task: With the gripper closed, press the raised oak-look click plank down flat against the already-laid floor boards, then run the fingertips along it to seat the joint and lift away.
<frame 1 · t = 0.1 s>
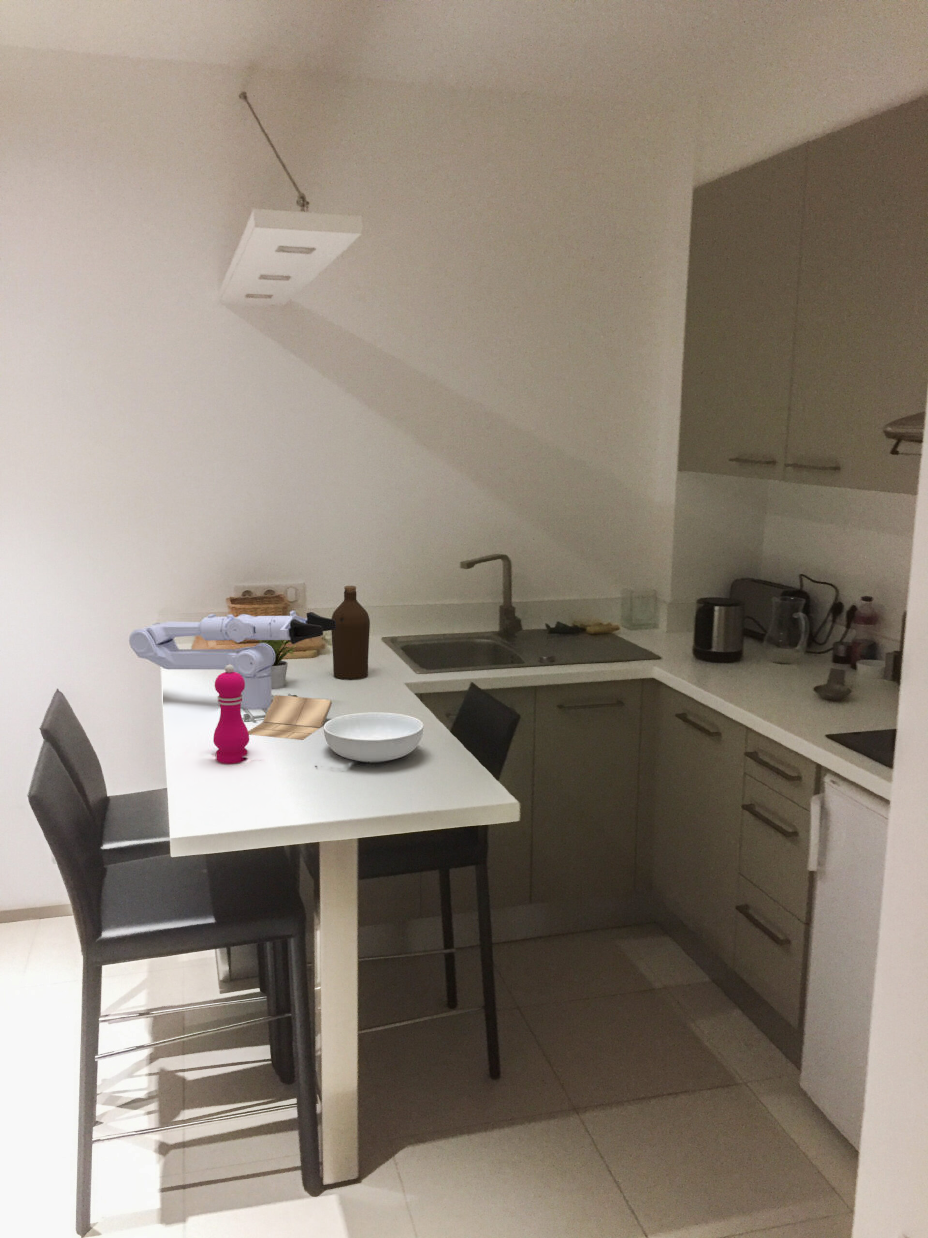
hand: (329, 627, 236), 22 cm above the counter, tool horizontal, fingers open, 7 cm apart
serving bowl: (373, 757, 213), on the counter
pepper mill: (232, 760, 209), on the counter
house plant: (275, 688, 267), on the counter
click plank: (297, 712, 232), point 3 cm above the counter, hinge at 35.0°
olive oil: (350, 676, 280), on the counter
laid floor boards: (282, 736, 225), on the counter
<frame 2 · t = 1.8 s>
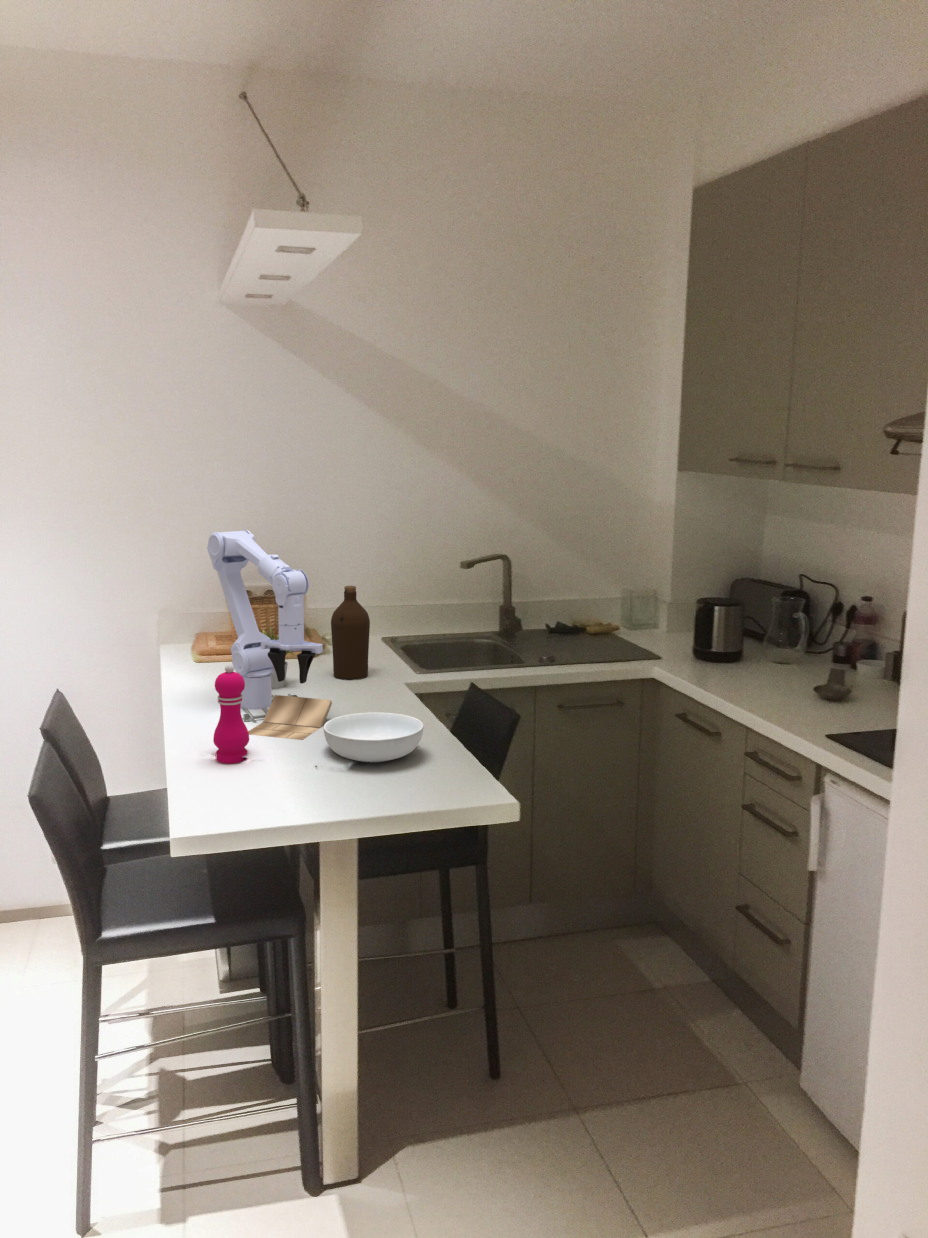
hand: (292, 681, 233), 10 cm above the counter, tool pointing down, fingers open, 5 cm apart
nothing on the counter moved.
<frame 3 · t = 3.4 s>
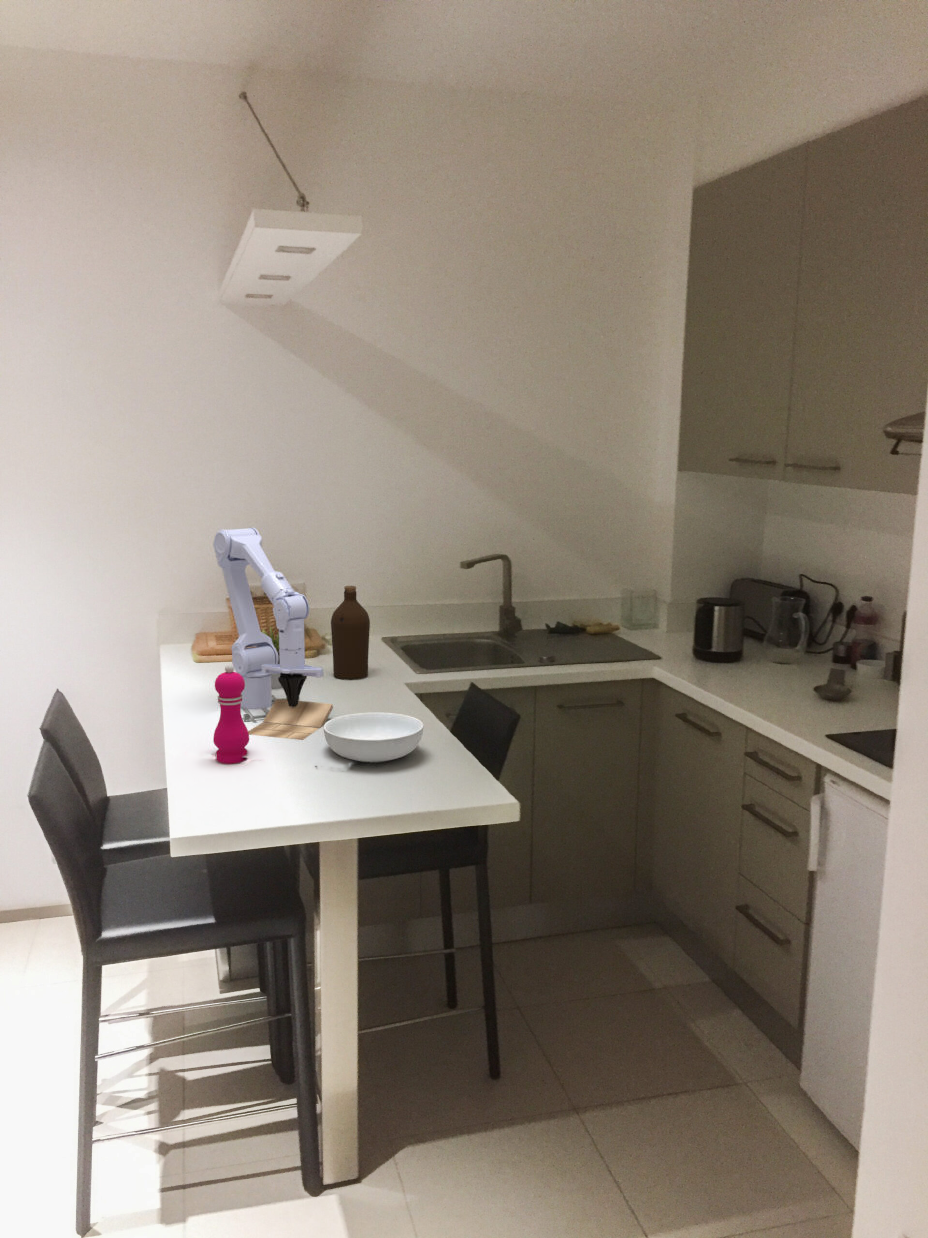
hand: (293, 705, 234), 4 cm above the counter, tool pointing down, fingers closed, pressing on click plank
click plank: (298, 714, 233), point 3 cm above the counter, hinge at 26.1°, touching gripper
everything else where it was.
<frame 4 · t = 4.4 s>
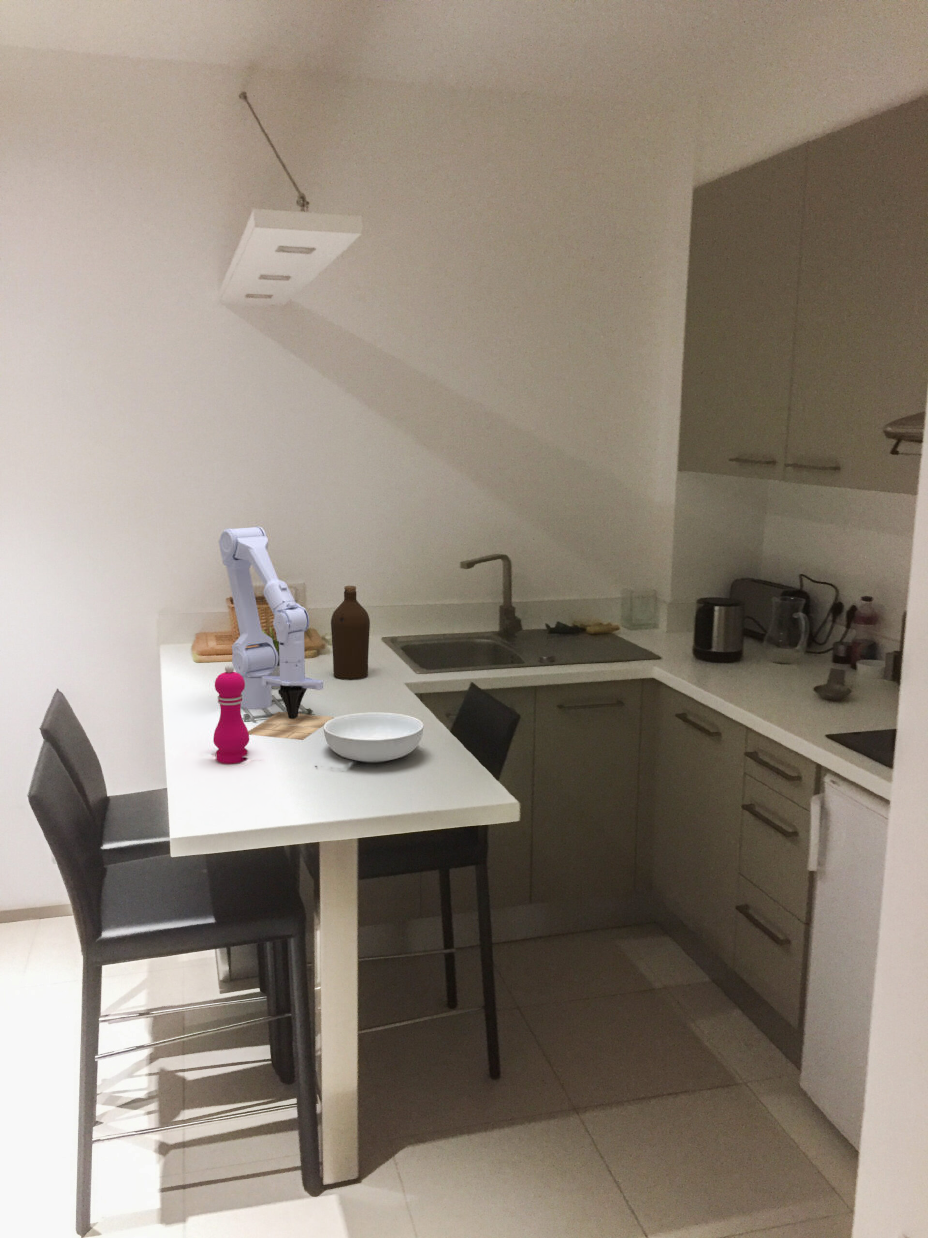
hand: (293, 717, 235), 1 cm above the counter, tool pointing down, fingers closed, pressing on click plank
click plank: (298, 722, 233), point 1 cm above the counter, hinge at 2.1°, touching gripper
everything else where it was.
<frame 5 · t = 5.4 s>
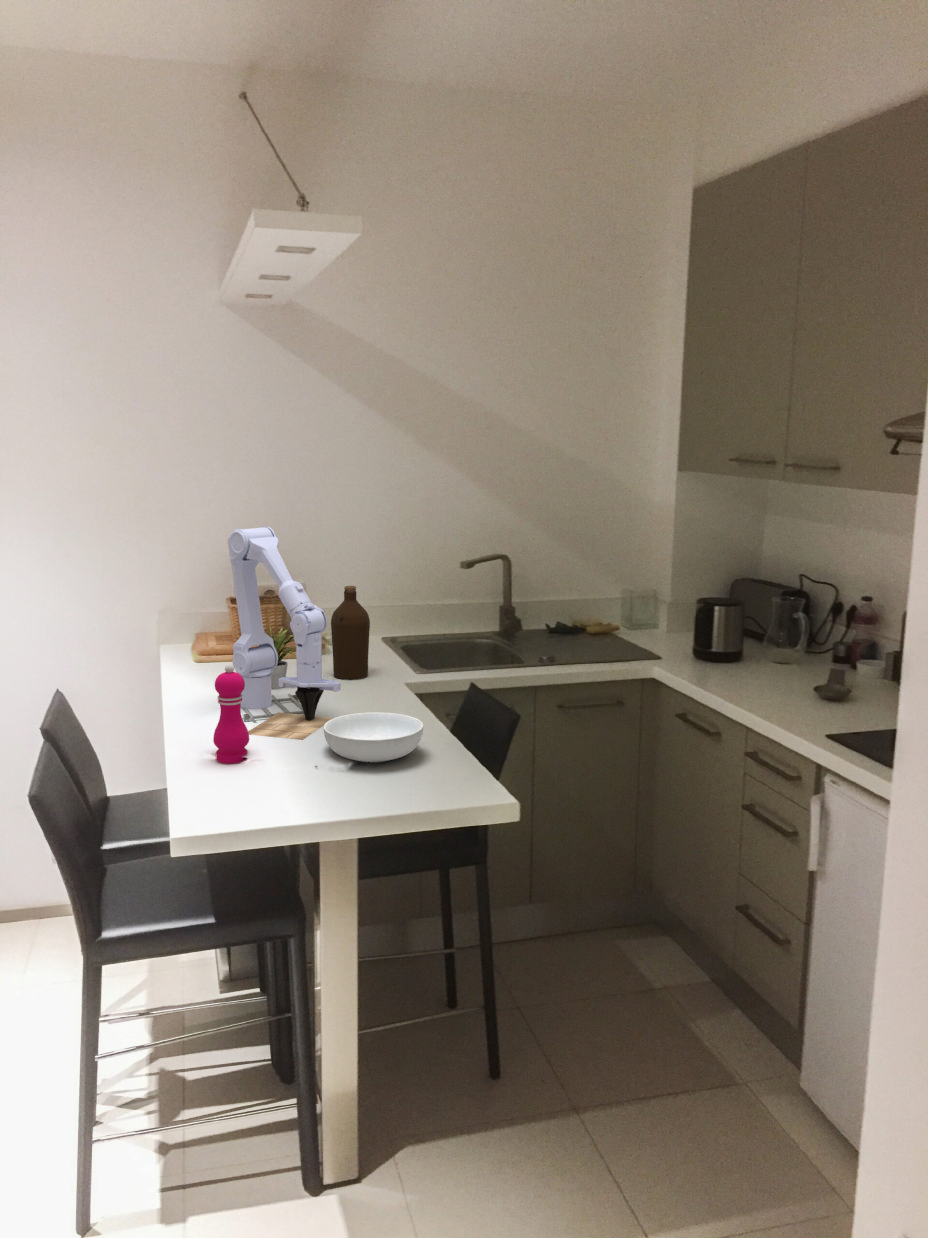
hand: (310, 719, 233), 1 cm above the counter, tool pointing down, fingers closed
click plank: (298, 722, 233), point 1 cm above the counter, hinge at 0.9°
everything else where it was.
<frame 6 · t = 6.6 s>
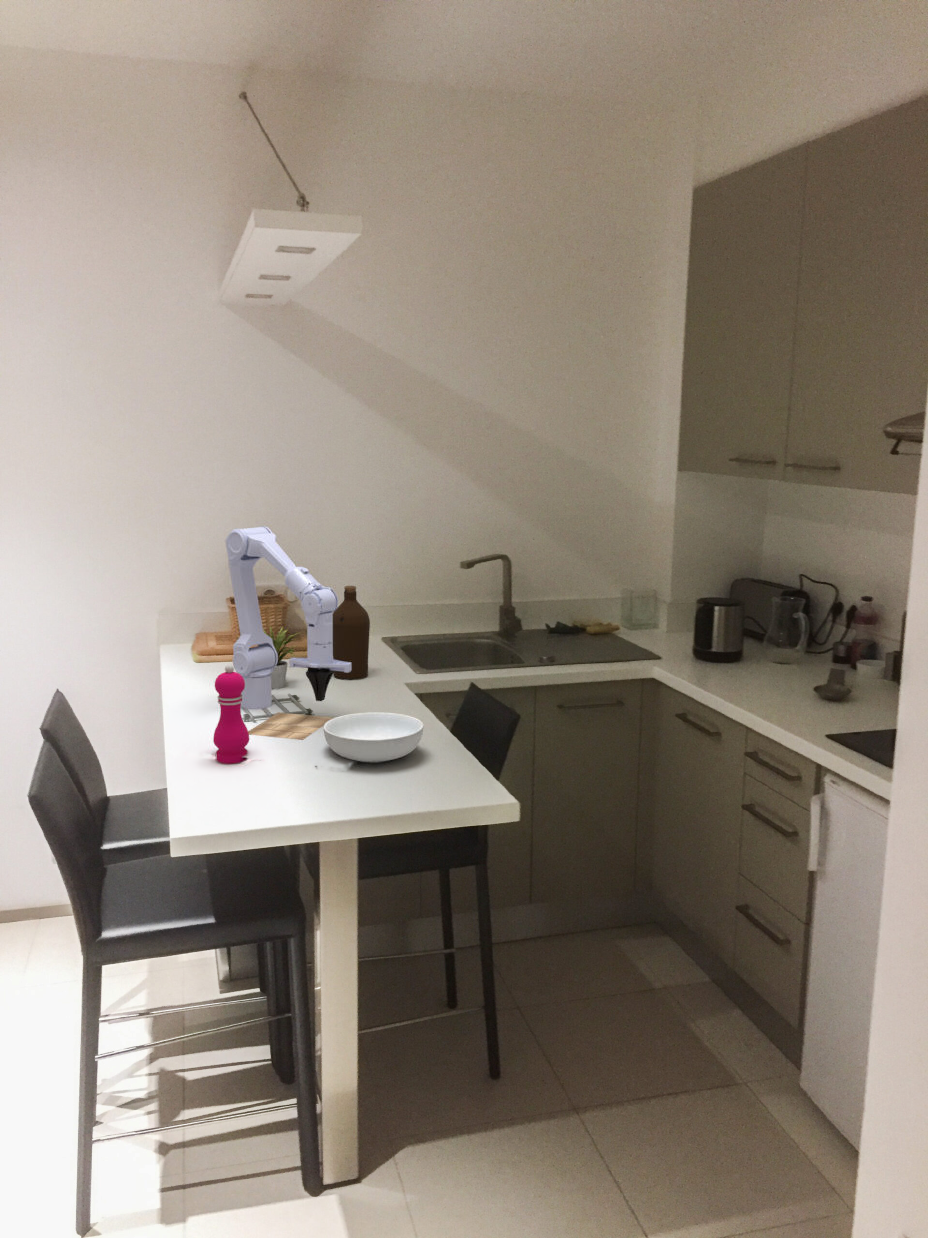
hand: (320, 700, 232), 6 cm above the counter, tool pointing down, fingers closed
nothing on the counter moved.
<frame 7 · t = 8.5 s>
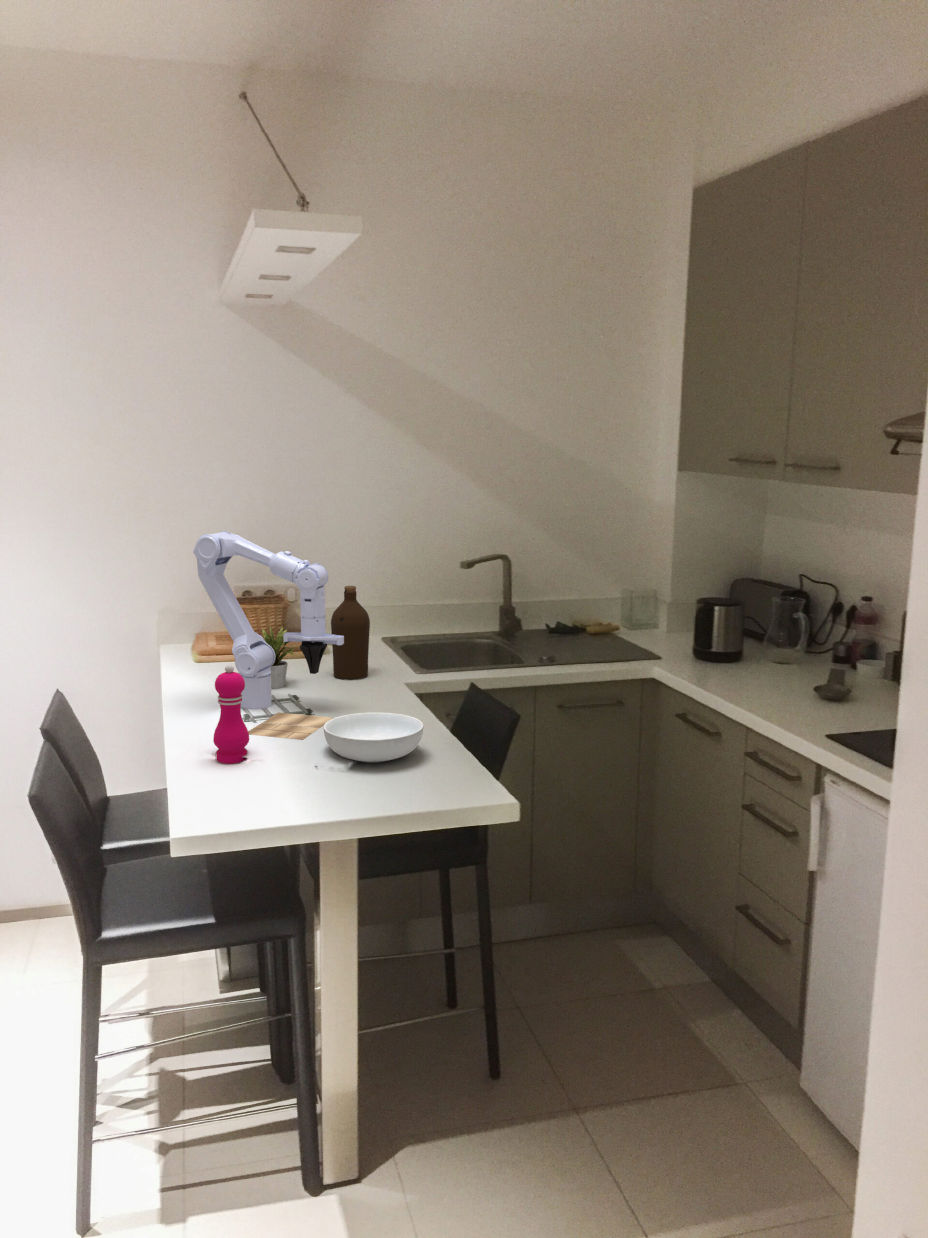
hand: (314, 672, 239), 10 cm above the counter, tool pointing down, fingers closed
nothing on the counter moved.
at the end: click plank at +1° (first picture: +35°); the gripper is holding nothing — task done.
